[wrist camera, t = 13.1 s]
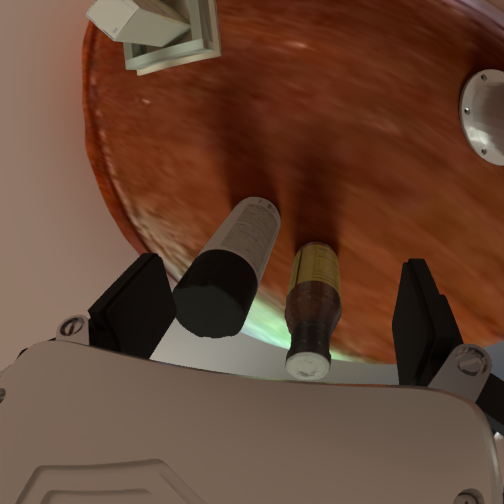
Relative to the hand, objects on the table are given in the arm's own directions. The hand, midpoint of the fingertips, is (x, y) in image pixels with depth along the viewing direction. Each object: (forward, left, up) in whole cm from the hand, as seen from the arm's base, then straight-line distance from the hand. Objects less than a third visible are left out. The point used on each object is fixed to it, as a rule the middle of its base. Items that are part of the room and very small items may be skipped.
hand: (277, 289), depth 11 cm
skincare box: (+16, -19, -28) cm, 37 cm away
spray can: (+8, +9, -28) cm, 31 cm away
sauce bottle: (0, +15, -28) cm, 32 cm away
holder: (+16, -19, -28) cm, 38 cm away
